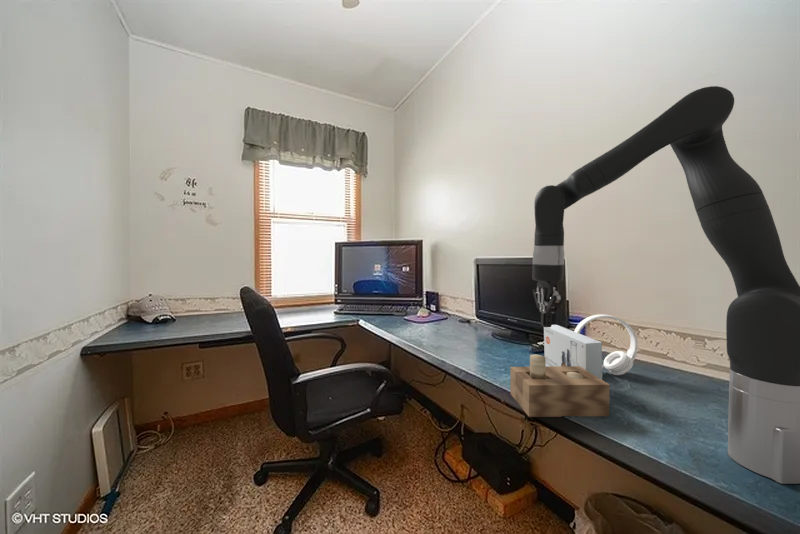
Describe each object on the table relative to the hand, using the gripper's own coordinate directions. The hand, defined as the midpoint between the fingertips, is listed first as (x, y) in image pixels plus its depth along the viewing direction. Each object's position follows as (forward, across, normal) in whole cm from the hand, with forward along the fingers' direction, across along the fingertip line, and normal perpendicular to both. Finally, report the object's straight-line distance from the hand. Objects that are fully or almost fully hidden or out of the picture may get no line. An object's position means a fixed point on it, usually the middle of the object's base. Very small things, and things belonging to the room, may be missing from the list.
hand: (545, 326), depth 78 cm
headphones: (+21, +19, -29) cm, 41 cm away
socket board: (+21, -2, -3) cm, 21 cm away
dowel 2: (+21, -1, -8) cm, 22 cm away
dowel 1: (+16, -2, +2) cm, 16 cm away
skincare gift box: (+21, +13, -14) cm, 29 cm away
